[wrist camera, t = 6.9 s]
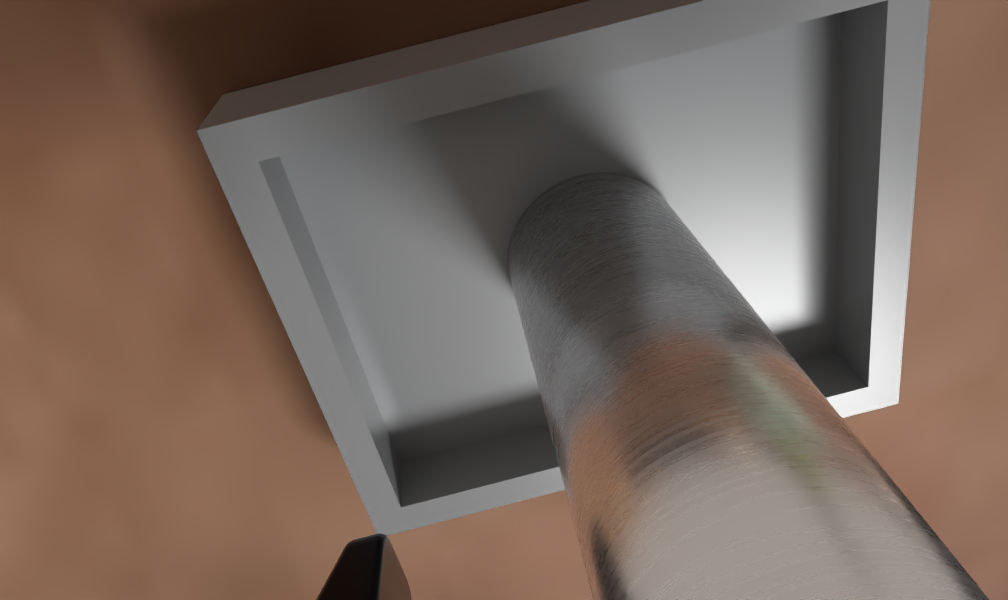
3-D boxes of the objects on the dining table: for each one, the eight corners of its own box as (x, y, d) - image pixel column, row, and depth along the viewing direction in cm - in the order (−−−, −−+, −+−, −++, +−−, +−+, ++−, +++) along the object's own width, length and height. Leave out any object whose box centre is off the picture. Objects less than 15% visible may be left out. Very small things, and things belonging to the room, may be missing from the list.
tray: (860, -70, 11) (935, -59, 10) (847, 349, 15) (897, 403, 14) (222, 94, 11) (196, 130, 10) (380, 470, 15) (378, 537, 14)
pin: (669, 152, 12) (1338, 841, 3) (687, 306, 14) (1182, 1059, 5) (489, 197, 12) (701, 995, 3) (527, 347, 14) (738, 1163, 5)
